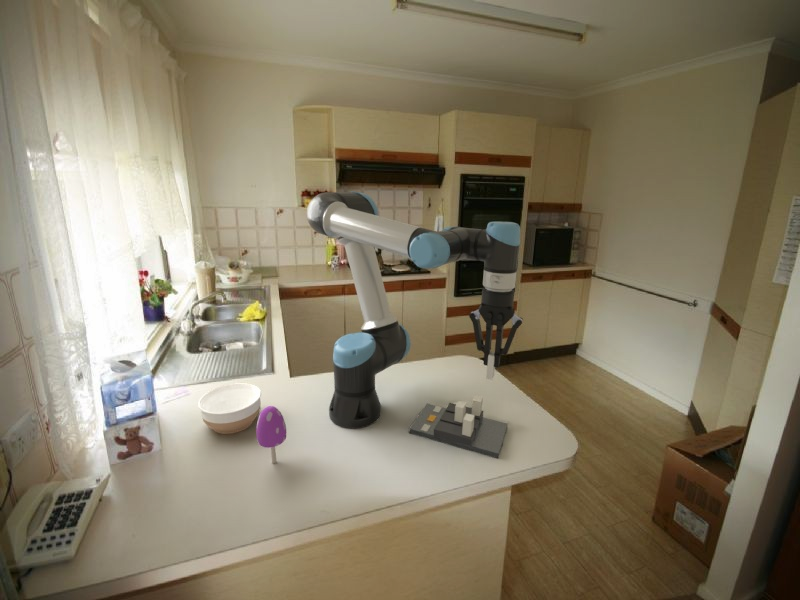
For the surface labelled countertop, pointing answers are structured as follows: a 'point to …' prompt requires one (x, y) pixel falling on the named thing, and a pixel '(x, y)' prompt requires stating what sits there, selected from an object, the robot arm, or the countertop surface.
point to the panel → (483, 443)
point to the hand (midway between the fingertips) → (490, 377)
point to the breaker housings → (457, 429)
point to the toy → (271, 429)
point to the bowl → (230, 407)
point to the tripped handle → (460, 411)
